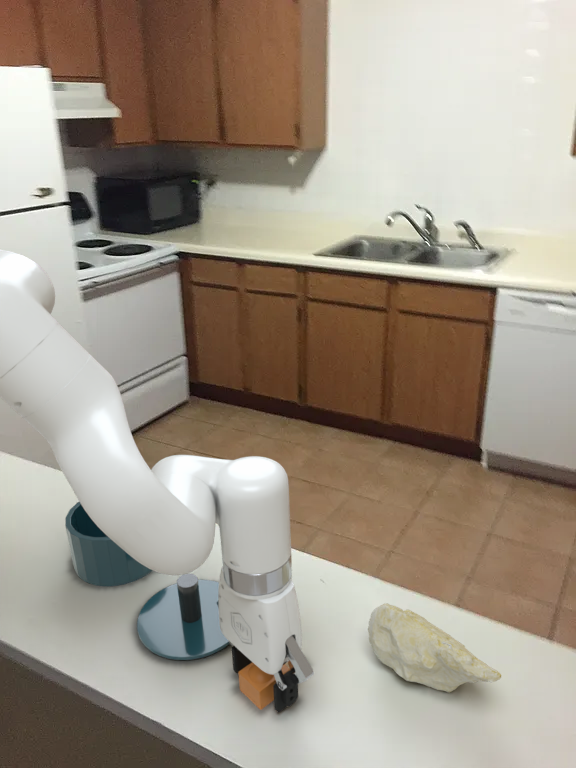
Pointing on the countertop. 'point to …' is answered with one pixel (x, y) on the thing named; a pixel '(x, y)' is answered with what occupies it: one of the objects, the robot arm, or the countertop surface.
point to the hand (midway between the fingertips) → (265, 683)
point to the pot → (98, 553)
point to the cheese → (423, 651)
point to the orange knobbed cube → (258, 684)
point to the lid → (183, 620)
